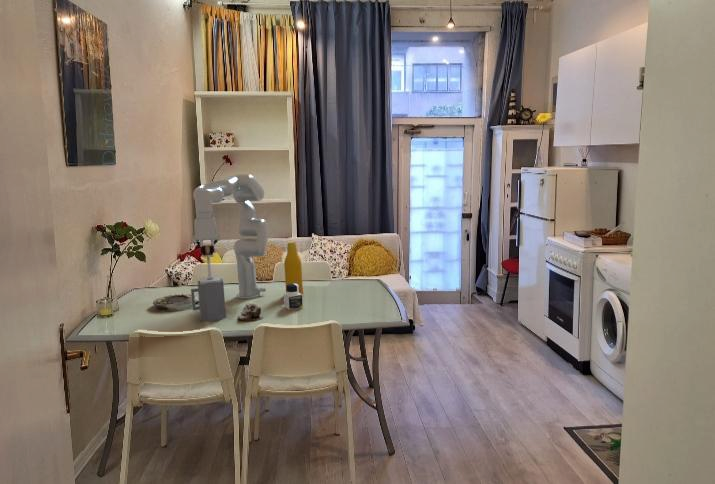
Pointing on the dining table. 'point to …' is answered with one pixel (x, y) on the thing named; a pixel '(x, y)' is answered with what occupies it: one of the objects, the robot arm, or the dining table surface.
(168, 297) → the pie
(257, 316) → the skull
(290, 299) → the medicine bottle
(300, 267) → the beer bottle
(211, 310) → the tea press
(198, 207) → the robot arm
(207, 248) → the plunger
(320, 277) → the dining table surface
